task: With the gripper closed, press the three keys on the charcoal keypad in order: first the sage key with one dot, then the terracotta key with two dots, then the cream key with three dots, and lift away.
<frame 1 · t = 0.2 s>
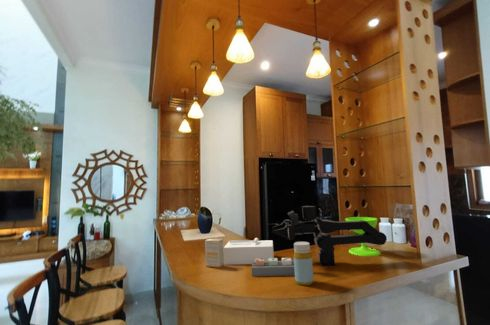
hand: (272, 230, 121), 17 cm above the bar counter, tool horizontal, fingers open, 9 cm apart
keypad: (273, 272, 109), on the bar counter
key sage: (273, 261, 110), point 5 cm above the bar counter, slide at 0.0 cm
supplement box: (215, 266, 122), on the bar counter
key terracotta: (259, 261, 110), point 5 cm above the bar counter, slide at 0.0 cm
key cream: (286, 261, 109), point 5 cm above the bar counter, slide at 0.0 cm
bottle: (304, 283, 96), on the bar counter
wineglass: (364, 252, 133), on the bar counter
tissue box: (250, 260, 130), on the bar counter
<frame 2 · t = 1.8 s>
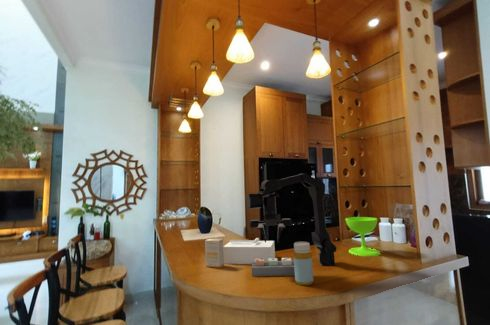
hand: (271, 242, 111), 13 cm above the bar counter, tool pointing down, fingers open, 5 cm apart
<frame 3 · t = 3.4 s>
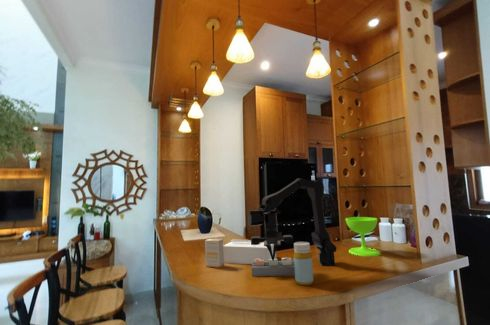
hand: (273, 259, 110), 5 cm above the bar counter, tool pointing down, fingers closed, pressing on key sage
key sage: (273, 262, 110), point 4 cm above the bar counter, slide at 0.2 cm, touching gripper
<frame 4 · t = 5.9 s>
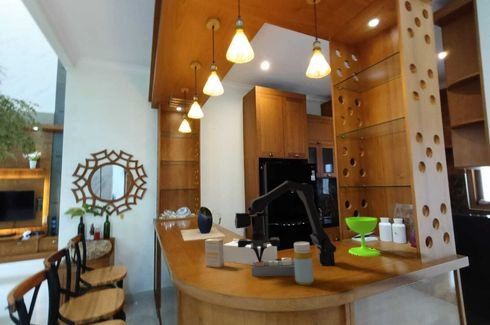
hand: (259, 261, 110), 5 cm above the bar counter, tool pointing down, fingers closed, pressing on key terracotta
key sage: (273, 264, 110), point 3 cm above the bar counter, slide at 1.1 cm
key terracotta: (259, 264, 110), point 4 cm above the bar counter, slide at 0.9 cm, touching gripper
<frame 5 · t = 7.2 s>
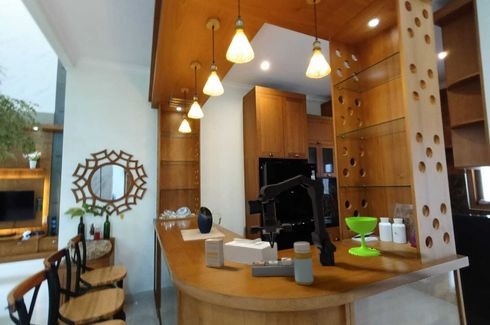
hand: (272, 248, 111), 10 cm above the bar counter, tool pointing down, fingers closed
key terracotta: (259, 264, 110), point 3 cm above the bar counter, slide at 1.1 cm
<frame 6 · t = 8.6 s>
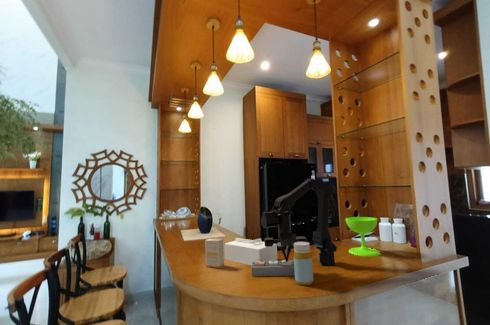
hand: (286, 261, 109), 5 cm above the bar counter, tool pointing down, fingers closed, pressing on key cream
key cream: (286, 263, 109), point 3 cm above the bar counter, slide at 1.1 cm, touching gripper
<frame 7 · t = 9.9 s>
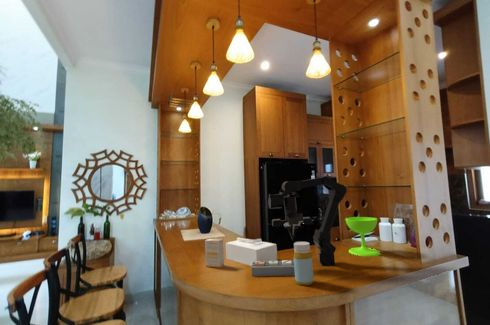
hand: (293, 240, 117), 12 cm above the bar counter, tool pointing down, fingers closed
key cream: (286, 263, 109), point 3 cm above the bar counter, slide at 1.1 cm
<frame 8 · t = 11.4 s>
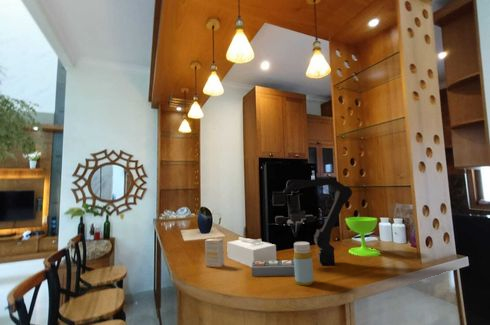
hand: (295, 236, 120), 13 cm above the bar counter, tool pointing down, fingers closed
at the end: key sage slide at 1.1 cm; key terracotta slide at 1.1 cm; key cream slide at 1.1 cm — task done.
